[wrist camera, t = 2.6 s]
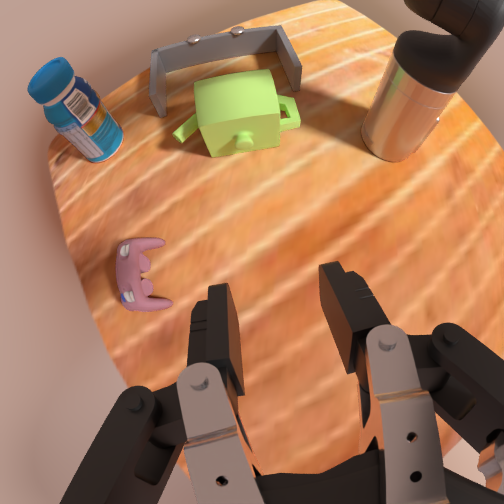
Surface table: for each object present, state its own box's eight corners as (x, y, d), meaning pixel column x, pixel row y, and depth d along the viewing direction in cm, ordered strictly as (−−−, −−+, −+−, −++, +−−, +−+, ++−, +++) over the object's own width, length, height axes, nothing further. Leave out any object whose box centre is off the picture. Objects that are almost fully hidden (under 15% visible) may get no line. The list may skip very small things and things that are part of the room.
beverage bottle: (86, 172, 43) (16, 108, 24) (85, 137, 45) (28, 73, 25) (127, 152, 43) (66, 74, 24) (123, 118, 45) (73, 43, 26)
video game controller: (146, 246, 41) (108, 239, 35) (167, 236, 39) (127, 228, 33) (154, 313, 39) (114, 314, 33) (177, 308, 37) (135, 310, 31)
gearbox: (183, 174, 42) (161, 144, 33) (180, 123, 44) (162, 88, 34) (301, 154, 41) (307, 118, 32) (288, 104, 43) (289, 65, 34)
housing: (279, 46, 47) (280, 21, 41) (299, 90, 44) (302, 63, 37) (160, 69, 47) (151, 46, 41) (160, 117, 44) (147, 93, 38)
